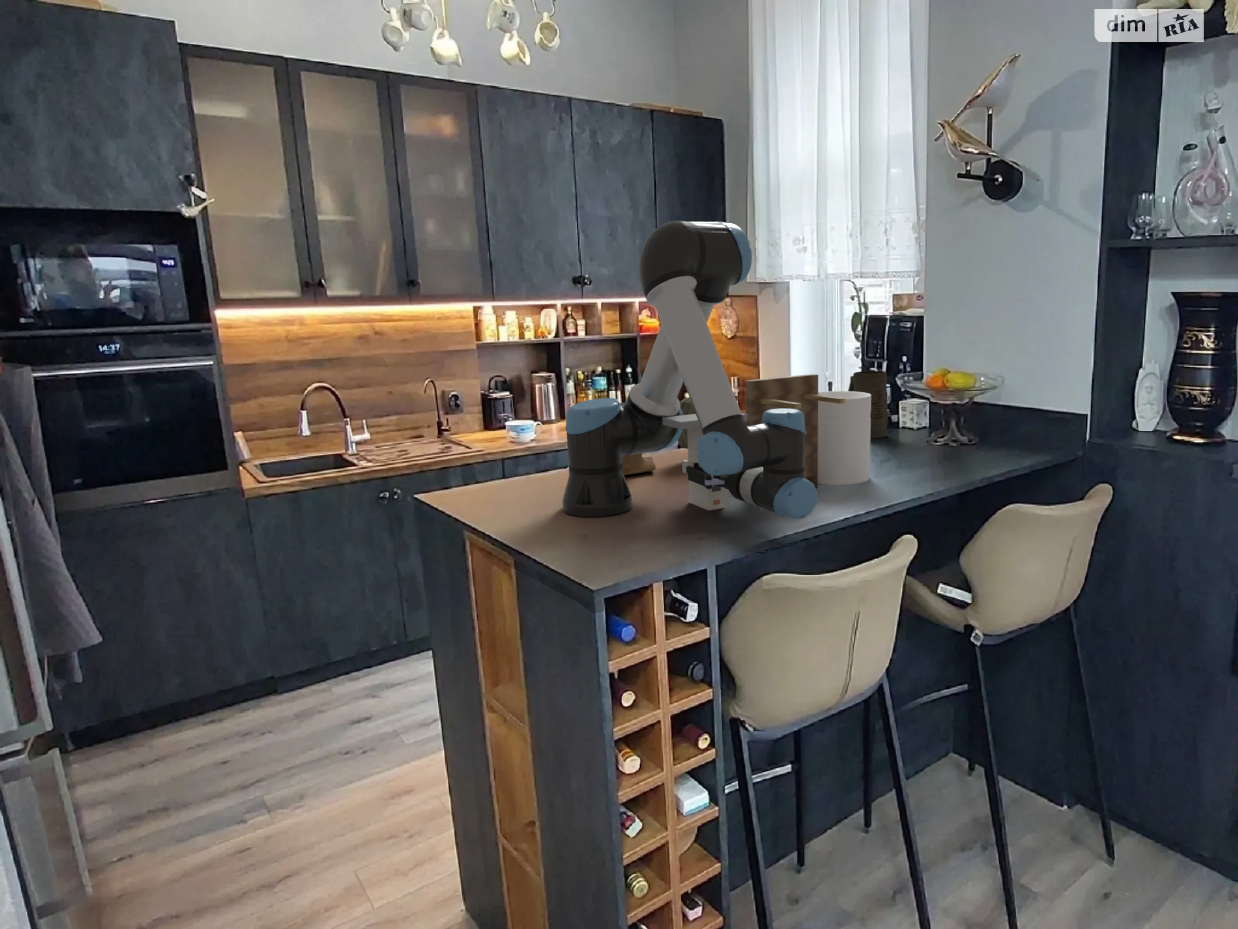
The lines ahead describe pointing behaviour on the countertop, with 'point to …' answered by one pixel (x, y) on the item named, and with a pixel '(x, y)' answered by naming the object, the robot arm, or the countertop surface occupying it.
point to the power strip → (697, 492)
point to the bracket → (790, 396)
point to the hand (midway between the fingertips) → (693, 464)
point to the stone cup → (637, 464)
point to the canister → (844, 438)
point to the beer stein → (873, 398)
